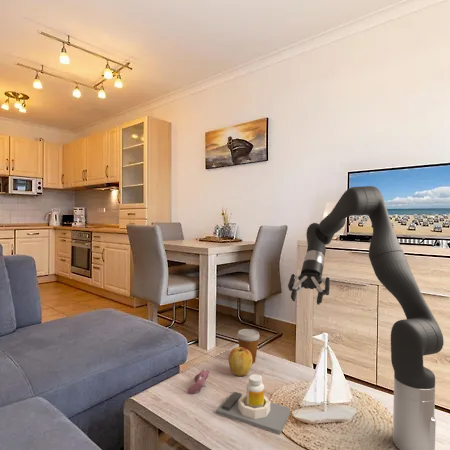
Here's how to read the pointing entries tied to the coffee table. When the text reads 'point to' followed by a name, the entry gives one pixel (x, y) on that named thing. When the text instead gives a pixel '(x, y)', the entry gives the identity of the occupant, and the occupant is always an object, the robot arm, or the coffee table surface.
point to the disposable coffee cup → (249, 341)
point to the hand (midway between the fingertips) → (305, 301)
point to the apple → (240, 361)
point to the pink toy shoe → (199, 382)
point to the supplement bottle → (255, 392)
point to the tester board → (261, 422)
